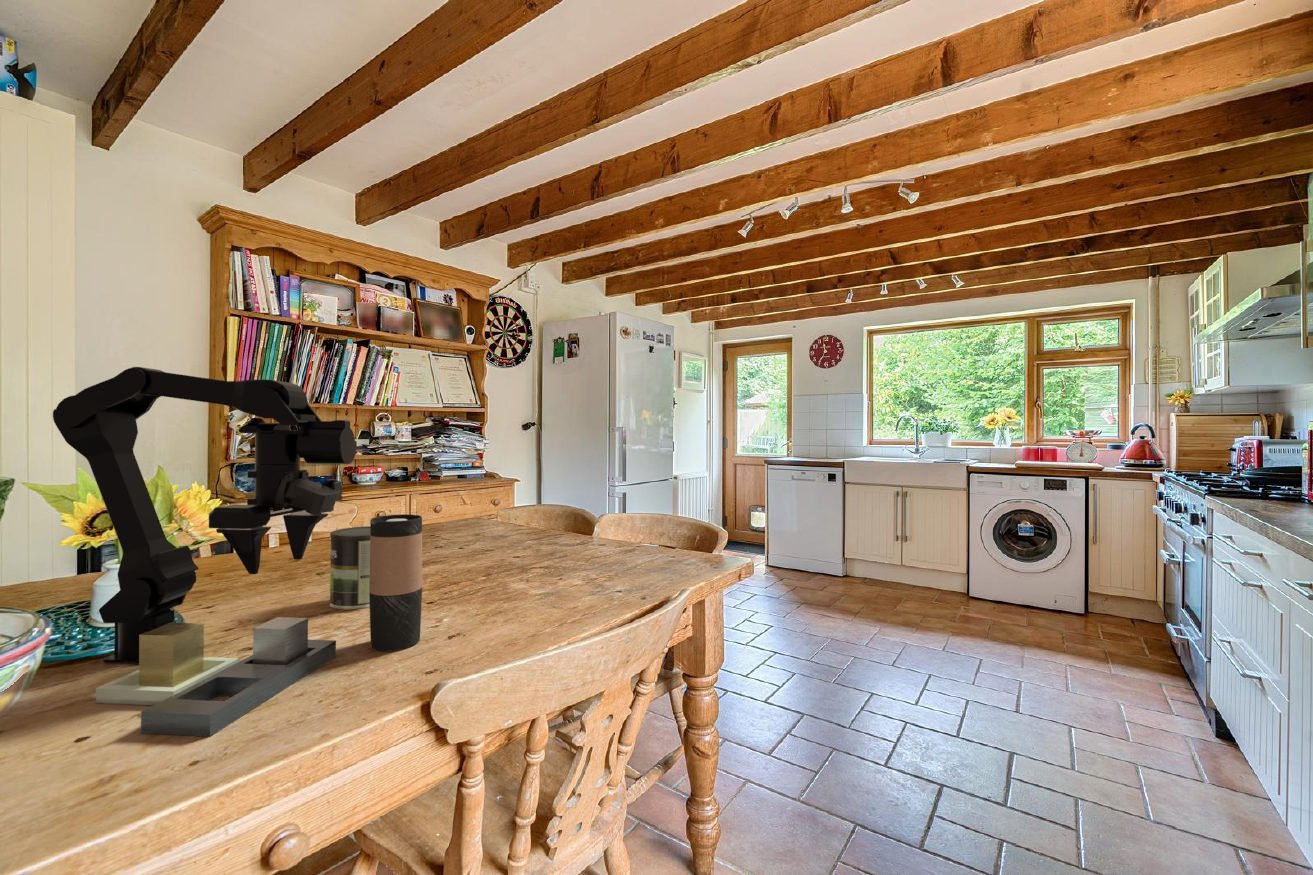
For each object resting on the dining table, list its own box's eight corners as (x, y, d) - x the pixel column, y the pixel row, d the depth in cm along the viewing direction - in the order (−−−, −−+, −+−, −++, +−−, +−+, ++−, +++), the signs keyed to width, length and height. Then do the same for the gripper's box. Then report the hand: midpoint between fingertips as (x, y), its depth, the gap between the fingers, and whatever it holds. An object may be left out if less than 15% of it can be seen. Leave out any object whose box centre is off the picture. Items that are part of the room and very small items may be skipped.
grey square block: (252, 679, 75) (253, 628, 75) (277, 665, 80) (277, 617, 80) (284, 681, 75) (285, 629, 75) (307, 667, 79) (307, 618, 79)
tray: (95, 703, 68) (95, 688, 68) (171, 668, 78) (171, 655, 78) (173, 706, 68) (173, 691, 68) (239, 671, 78) (239, 658, 78)
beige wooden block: (172, 690, 70) (173, 635, 70) (139, 689, 71) (139, 634, 71) (203, 675, 75) (203, 623, 75) (171, 674, 75) (171, 622, 75)
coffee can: (326, 612, 103) (327, 536, 103) (332, 597, 112) (333, 527, 112) (388, 606, 107) (389, 533, 107) (389, 592, 116) (389, 525, 116)
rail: (140, 733, 61) (141, 711, 61) (284, 654, 83) (284, 638, 83) (210, 736, 61) (210, 714, 61) (335, 656, 83) (335, 640, 83)
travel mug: (429, 634, 93) (430, 514, 92) (410, 652, 85) (411, 521, 85) (382, 634, 92) (383, 514, 92) (359, 652, 85) (360, 521, 85)
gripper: (285, 468, 75) (283, 584, 75) (364, 461, 93) (363, 554, 93) (205, 467, 75) (204, 582, 75) (300, 460, 94) (299, 552, 94)
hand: (276, 566), depth 84 cm, fingers open, 9 cm apart
